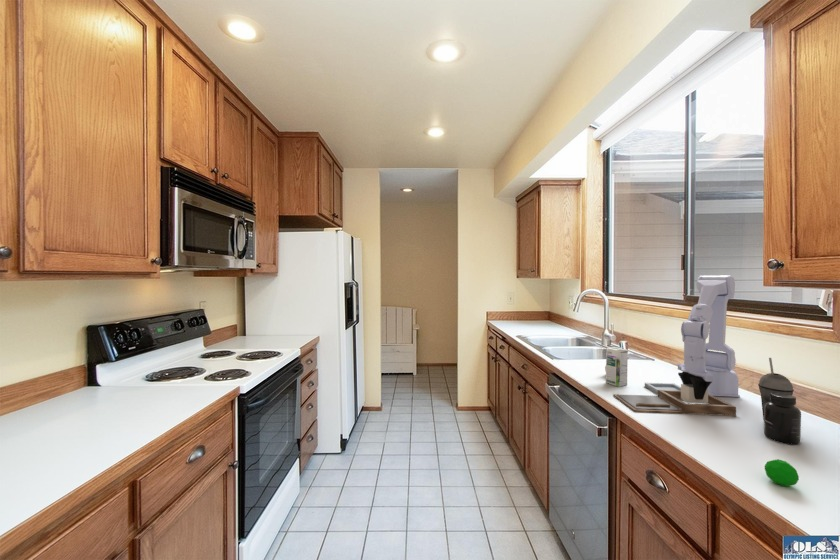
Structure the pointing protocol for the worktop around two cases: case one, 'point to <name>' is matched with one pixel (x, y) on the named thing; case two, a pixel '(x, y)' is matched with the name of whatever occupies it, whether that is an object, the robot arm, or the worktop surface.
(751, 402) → the worktop surface
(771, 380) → the beverage cup
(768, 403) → the supplement bottle
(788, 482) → the green rounded piece
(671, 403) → the open case
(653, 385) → the tray
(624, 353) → the syrup box
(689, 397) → the block
